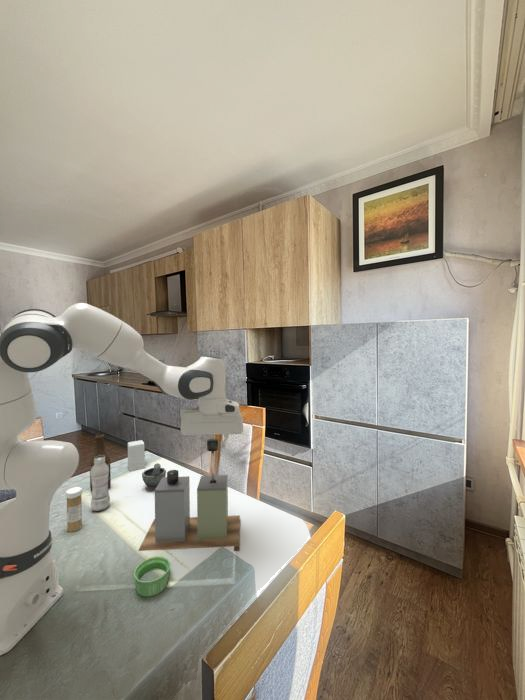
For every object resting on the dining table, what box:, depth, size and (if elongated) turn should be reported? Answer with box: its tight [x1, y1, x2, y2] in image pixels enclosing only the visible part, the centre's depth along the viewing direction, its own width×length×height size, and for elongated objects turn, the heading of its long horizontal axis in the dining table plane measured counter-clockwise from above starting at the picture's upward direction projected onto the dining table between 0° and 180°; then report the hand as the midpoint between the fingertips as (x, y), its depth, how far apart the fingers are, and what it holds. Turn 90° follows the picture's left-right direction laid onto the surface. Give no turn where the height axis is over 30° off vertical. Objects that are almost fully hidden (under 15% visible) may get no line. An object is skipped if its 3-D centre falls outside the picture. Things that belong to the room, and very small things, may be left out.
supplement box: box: [127, 439, 146, 472], centre depth 152 cm, size 7×7×13 cm
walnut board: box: [138, 515, 241, 552], centre depth 97 cm, size 16×30×2 cm, turn 94°
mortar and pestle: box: [141, 462, 167, 492], centre depth 130 cm, size 11×9×12 cm
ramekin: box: [133, 555, 171, 598], centre depth 78 cm, size 9×9×4 cm
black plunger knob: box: [206, 437, 219, 483], centre depth 97 cm, size 7×7×19 cm
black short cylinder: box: [166, 469, 180, 485], centre depth 97 cm, size 7×7×19 cm
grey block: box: [154, 476, 191, 542], centre depth 97 cm, size 9×9×16 cm
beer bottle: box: [89, 433, 112, 493], centre depth 128 cm, size 8×8×24 cm
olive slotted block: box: [196, 474, 229, 540], centre depth 97 cm, size 9×9×16 cm
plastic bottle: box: [89, 455, 111, 512], centre depth 114 cm, size 6×7×20 cm
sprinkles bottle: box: [65, 486, 83, 533], centre depth 101 cm, size 5×5×13 cm
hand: (212, 447), depth 97 cm, fingers open, 5 cm apart
